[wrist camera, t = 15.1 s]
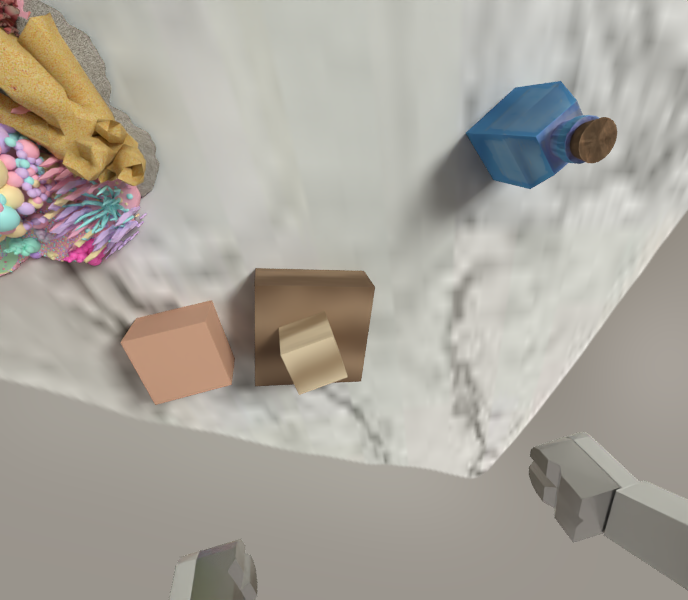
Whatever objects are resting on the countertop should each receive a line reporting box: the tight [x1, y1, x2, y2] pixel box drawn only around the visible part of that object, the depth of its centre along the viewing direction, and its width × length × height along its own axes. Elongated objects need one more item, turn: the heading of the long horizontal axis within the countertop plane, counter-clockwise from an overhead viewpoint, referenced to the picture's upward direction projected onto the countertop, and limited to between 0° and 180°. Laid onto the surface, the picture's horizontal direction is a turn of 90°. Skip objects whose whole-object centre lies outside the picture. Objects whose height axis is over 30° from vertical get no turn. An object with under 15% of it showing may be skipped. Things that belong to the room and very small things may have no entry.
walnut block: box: [255, 268, 375, 386], centre depth 40 cm, size 12×12×5 cm
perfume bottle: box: [466, 81, 617, 189], centre depth 32 cm, size 6×6×12 cm
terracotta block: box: [120, 300, 235, 405], centre depth 38 cm, size 8×8×5 cm
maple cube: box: [279, 311, 348, 395], centre depth 36 cm, size 5×5×5 cm
